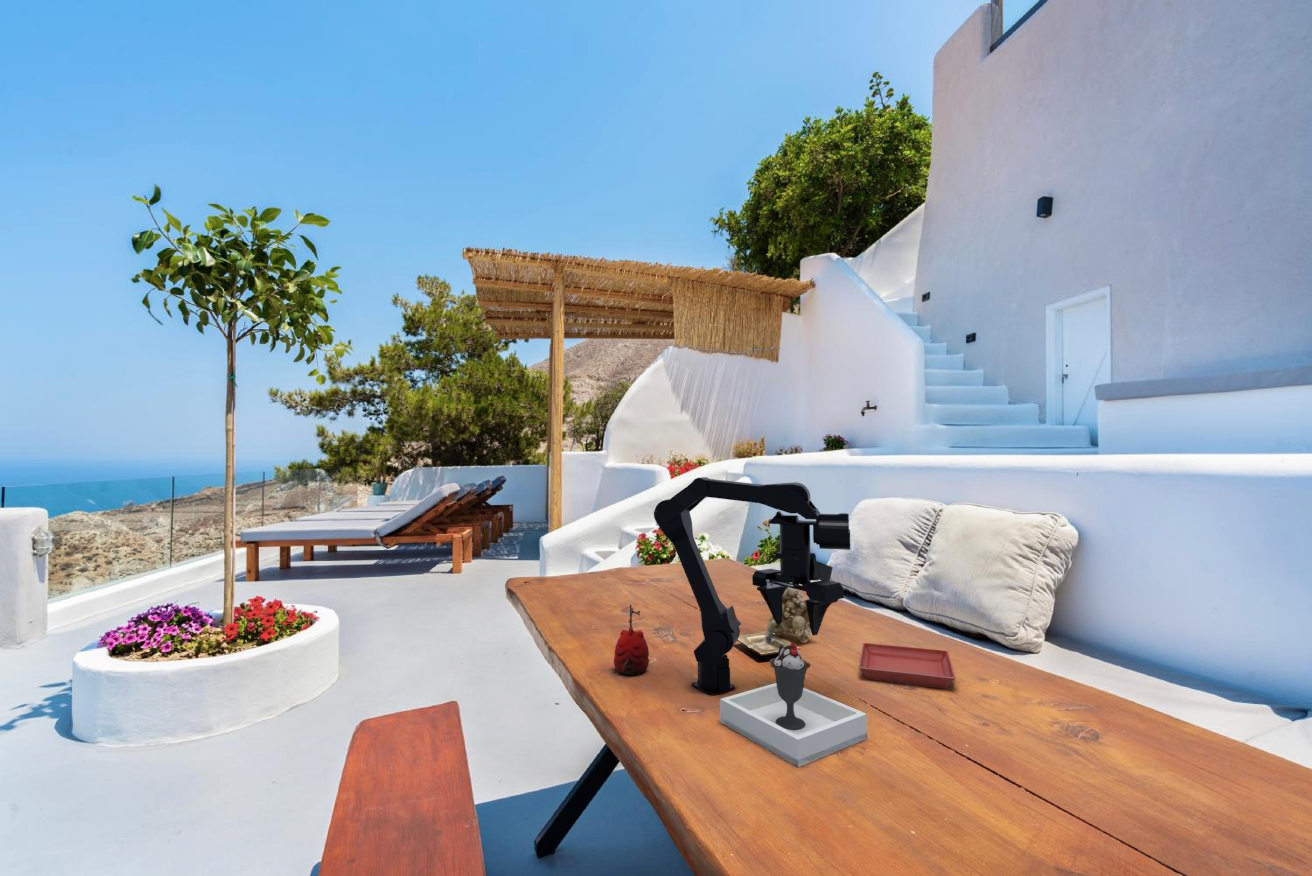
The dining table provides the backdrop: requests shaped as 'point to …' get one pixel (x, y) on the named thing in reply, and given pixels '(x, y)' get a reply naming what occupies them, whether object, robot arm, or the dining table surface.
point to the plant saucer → (906, 665)
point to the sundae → (790, 682)
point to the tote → (820, 737)
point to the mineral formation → (792, 616)
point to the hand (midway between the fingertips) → (796, 629)
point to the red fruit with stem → (631, 651)
